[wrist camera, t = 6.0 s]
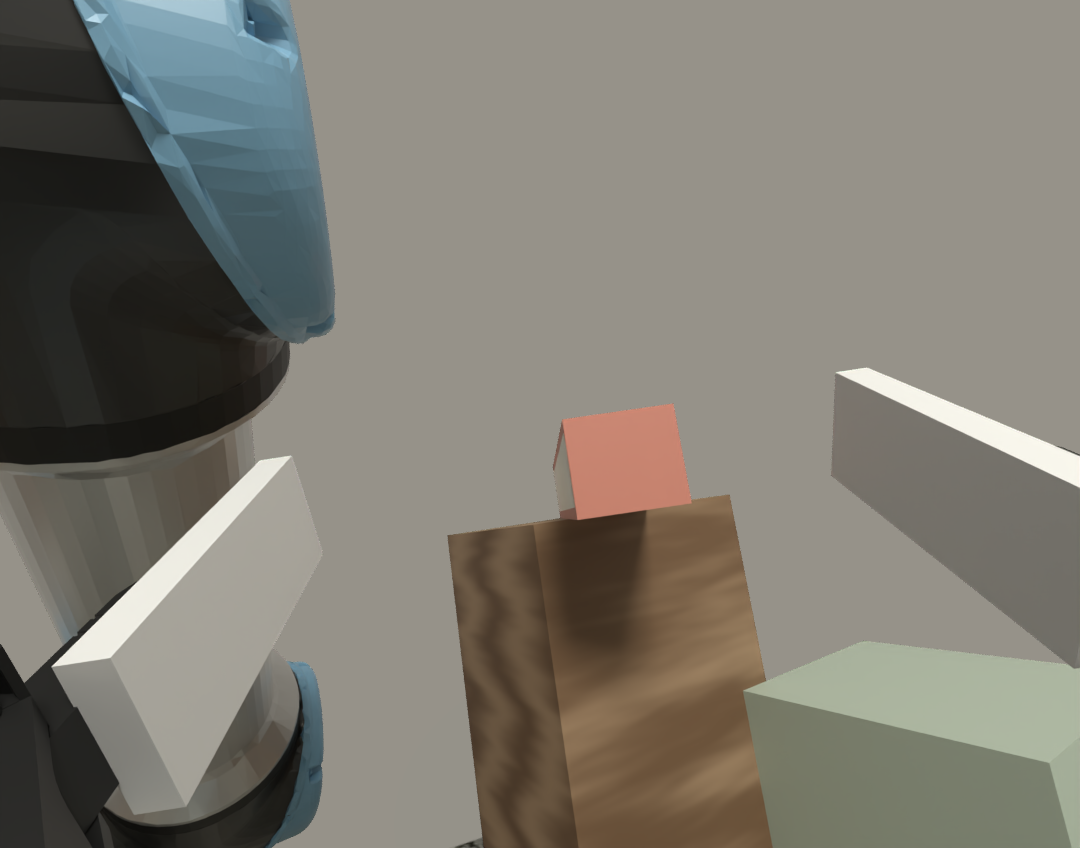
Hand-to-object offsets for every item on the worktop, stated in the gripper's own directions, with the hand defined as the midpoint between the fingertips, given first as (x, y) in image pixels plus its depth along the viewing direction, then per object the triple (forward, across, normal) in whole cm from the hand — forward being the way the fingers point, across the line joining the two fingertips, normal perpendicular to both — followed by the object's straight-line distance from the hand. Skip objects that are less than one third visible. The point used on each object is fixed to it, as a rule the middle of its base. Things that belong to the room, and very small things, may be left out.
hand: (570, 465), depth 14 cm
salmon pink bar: (+16, +2, -11) cm, 20 cm away
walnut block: (+5, +1, -39) cm, 39 cm away
